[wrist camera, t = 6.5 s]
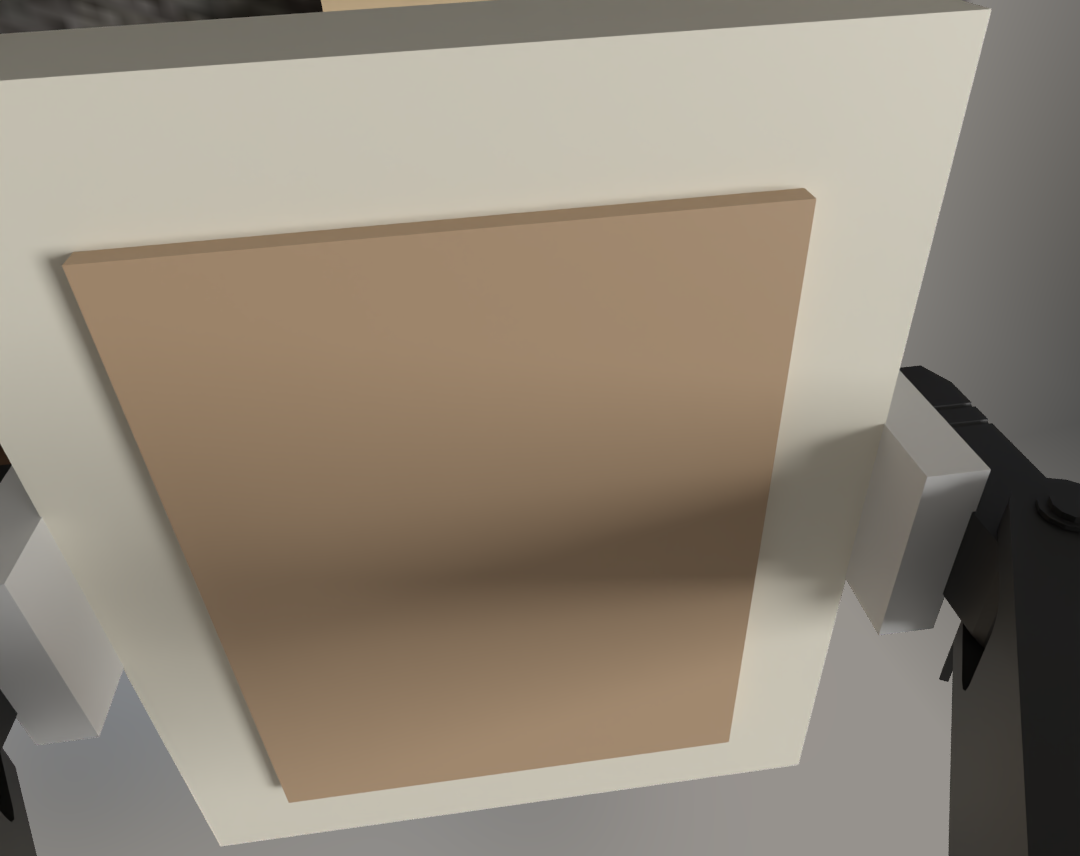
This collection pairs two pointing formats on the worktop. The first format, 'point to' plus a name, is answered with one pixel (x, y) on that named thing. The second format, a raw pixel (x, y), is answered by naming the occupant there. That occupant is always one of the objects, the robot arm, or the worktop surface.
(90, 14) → the worktop surface
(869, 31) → the lid
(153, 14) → the worktop surface
